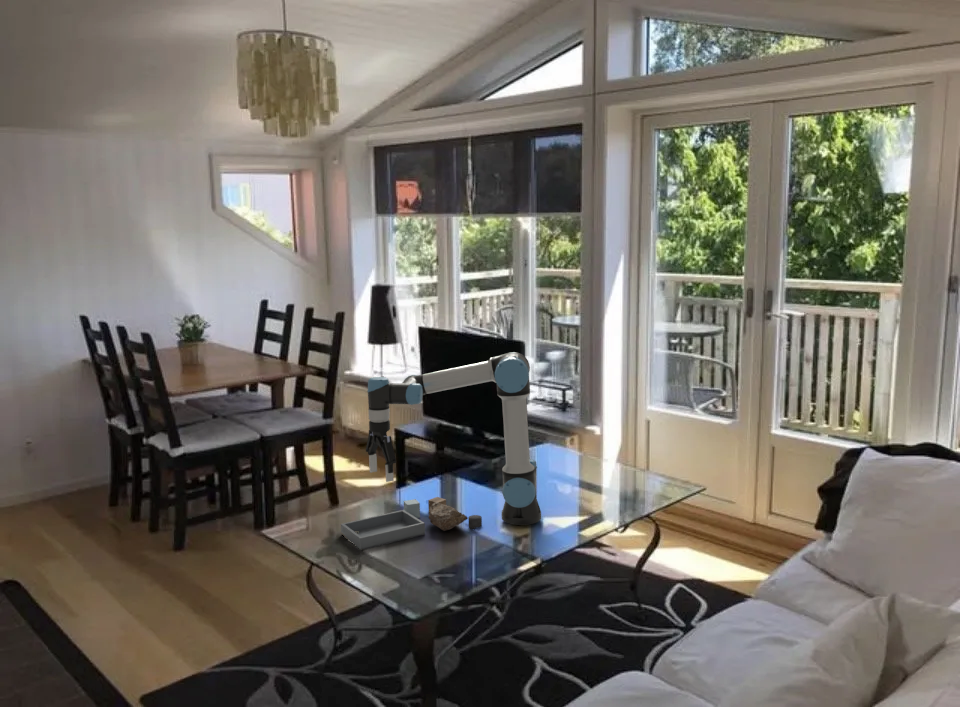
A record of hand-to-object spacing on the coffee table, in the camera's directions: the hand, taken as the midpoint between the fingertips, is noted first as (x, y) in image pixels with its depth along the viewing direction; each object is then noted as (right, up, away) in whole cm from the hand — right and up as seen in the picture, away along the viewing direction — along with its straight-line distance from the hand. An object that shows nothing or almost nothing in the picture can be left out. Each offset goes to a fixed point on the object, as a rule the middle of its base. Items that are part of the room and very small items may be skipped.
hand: (381, 476), depth 294 cm
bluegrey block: (+9, -19, +22) cm, 31 cm away
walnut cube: (+19, -18, +27) cm, 38 cm away
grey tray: (0, -22, +4) cm, 23 cm away
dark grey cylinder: (+34, -21, +10) cm, 41 cm away
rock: (+24, -21, +11) cm, 34 cm away
